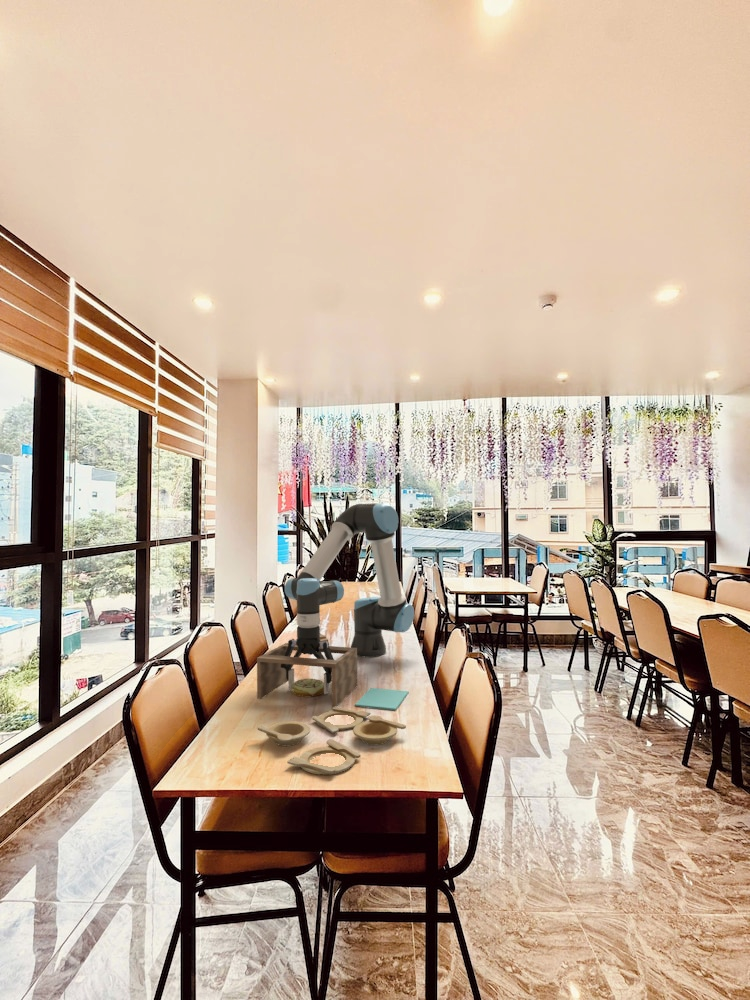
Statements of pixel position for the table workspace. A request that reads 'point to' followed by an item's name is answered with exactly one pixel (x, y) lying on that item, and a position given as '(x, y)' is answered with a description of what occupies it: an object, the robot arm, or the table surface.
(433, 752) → the table surface
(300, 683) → the decorated donut
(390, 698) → the mat
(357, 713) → the tableware set
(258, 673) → the box
